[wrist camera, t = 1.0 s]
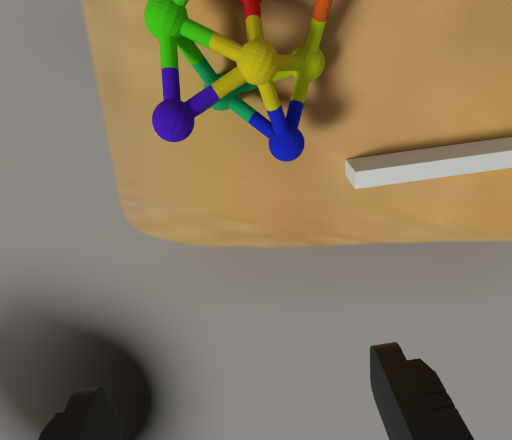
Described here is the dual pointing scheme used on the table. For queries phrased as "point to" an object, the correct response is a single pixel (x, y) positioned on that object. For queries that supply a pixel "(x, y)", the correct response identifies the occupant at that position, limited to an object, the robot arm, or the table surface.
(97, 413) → the robot arm
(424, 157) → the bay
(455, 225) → the table surface
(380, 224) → the table surface
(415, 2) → the table surface
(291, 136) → the decorative model
